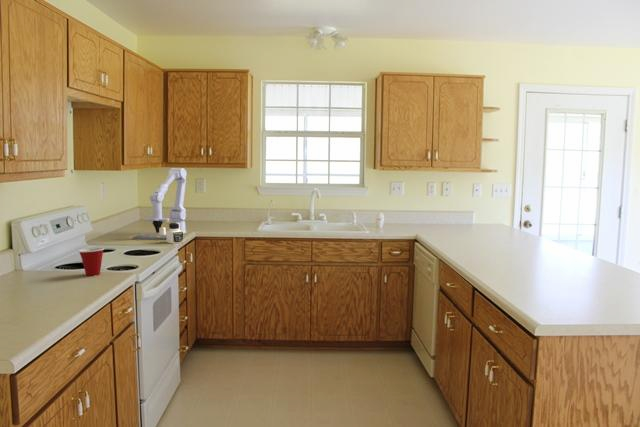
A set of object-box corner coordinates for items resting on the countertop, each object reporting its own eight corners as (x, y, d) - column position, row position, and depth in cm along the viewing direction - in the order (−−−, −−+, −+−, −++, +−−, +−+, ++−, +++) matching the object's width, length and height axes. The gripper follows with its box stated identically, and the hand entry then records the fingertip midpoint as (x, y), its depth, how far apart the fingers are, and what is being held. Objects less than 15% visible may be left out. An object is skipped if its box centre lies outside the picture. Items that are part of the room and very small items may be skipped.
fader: (161, 235, 330) (161, 227, 329) (165, 235, 329) (165, 227, 329) (159, 235, 326) (159, 227, 326) (163, 235, 326) (163, 227, 326)
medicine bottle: (173, 243, 308) (173, 224, 306) (166, 242, 312) (165, 223, 311) (183, 242, 314) (182, 222, 312) (176, 240, 318) (175, 221, 316)
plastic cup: (97, 270, 239) (96, 245, 238) (110, 274, 233) (109, 248, 231) (74, 275, 230) (73, 249, 229) (87, 278, 224) (86, 251, 223)
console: (142, 235, 337) (142, 231, 336) (175, 236, 334) (175, 232, 334) (133, 239, 323) (133, 235, 322) (166, 240, 321) (166, 236, 320)
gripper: (143, 212, 323) (144, 233, 325) (165, 212, 322) (166, 233, 323) (148, 210, 330) (149, 231, 332) (170, 211, 329) (170, 232, 330)
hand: (158, 232), depth 328 cm, fingers closed
